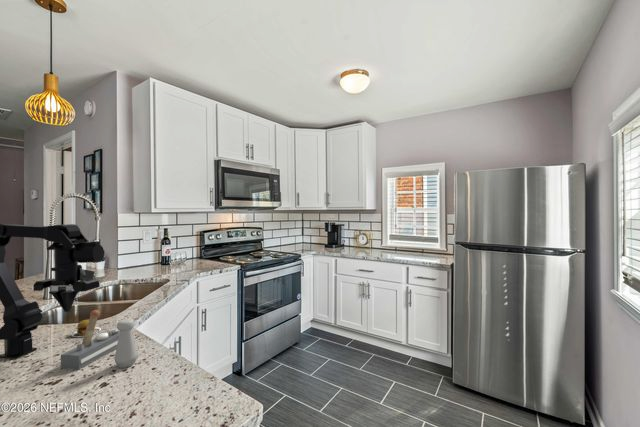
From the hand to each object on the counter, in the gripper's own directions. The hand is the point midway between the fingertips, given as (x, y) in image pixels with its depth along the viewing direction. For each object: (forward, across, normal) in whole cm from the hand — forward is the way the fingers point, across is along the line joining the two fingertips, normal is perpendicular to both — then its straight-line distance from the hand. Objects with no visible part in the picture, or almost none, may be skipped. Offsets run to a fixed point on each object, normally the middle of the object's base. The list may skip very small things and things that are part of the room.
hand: (67, 311), depth 98 cm
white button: (+9, -12, -1) cm, 14 cm away
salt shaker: (+13, -26, +6) cm, 30 cm away
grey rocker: (+8, -12, -6) cm, 15 cm away
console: (+13, -12, +1) cm, 17 cm away
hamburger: (+14, +8, -14) cm, 22 cm away
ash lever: (+8, -12, +5) cm, 15 cm away
